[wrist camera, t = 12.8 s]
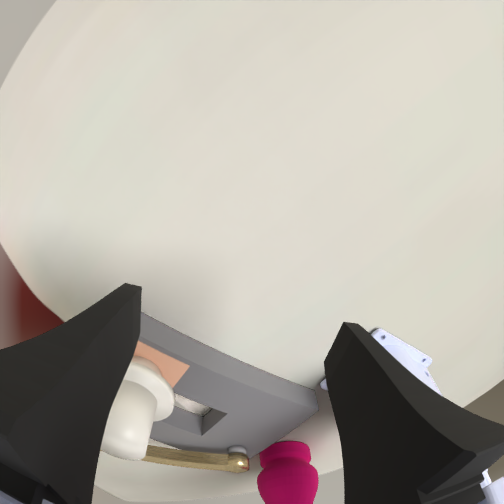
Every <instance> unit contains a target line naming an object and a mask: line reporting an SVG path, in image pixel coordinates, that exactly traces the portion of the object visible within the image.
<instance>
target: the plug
mask: <svg viewBox="0 0 504 504" xmlns="http://www.w3.org/2000/svg"><path fill="white" fill-rule="evenodd" d="M174 403H175V394H174V391H173V389H172V387H171V386H170V384H169V383H168V382H167V381H166V380H165V379H164V378H163V377H162V374H161V371H160V369H159V368H158V367H157V366H156V365H155V364H154V363H153V362H152V361H150V360H148V359H146V358H144V357H141V356H135V355H133V358H132V360H131V363H130V365H129V367H128V369H127V372H126V374H125V376H124V379H123V381H122V383H121V386H120V388H119V390H118V393H117V395H116V397H115V400H114V402H113V404H112V407H111V410H110V413H109V416H108V420H107V424H106V427H105V431H104V435H103V439H102V444H101V448H100V450H102V451H104V452H106V453H108V454H110V455H112V456H115V457H118V458H121V459H125V460H141V459H143V458H144V457H145V455H146V450H147V446H148V442H149V437H150V433H151V429H152V425H153V422H155V421H160V420H163V419H165V418H167V417H168V416H169V415H170V414H171V413H172V411H173V408H174Z"/></svg>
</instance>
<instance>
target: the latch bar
mask: <svg viewBox="0 0 504 504" xmlns="http://www.w3.org/2000/svg"><path fill="white" fill-rule="evenodd" d="M100 451H102V450H100ZM103 452H104V451H103ZM141 460H143V461H148V462H154V463H160V464H166V465H173V466H180V467H189V468H198V469H209V470H223V471H229V472H234V473H241V472H246V471H248V470H249V457H248V456H247V455H246V454H243V453H230V454H217V453H205V452H194V451H185V450H177V449H170V448H163V447H157V446H151V445H148V446H147V450H146V455H145V457H144V458H143V459H141Z"/></svg>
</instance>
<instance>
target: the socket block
mask: <svg viewBox="0 0 504 504" xmlns="http://www.w3.org/2000/svg"><path fill="white" fill-rule="evenodd" d="M134 355H135V356H141V357H144V358H146V359H148V360H150V361H152V362H153V363H154V364H155V365H156V366H157V367H158V368H159V369H160V371H161V374H162V377H163V378H164V379H165V380H166V381H167V382H168V383H169V384H170V386H171V387H172V389H173V391H174V393H176V394H178V395H181V396H183V397H186V398H188V399H190V400H193V401H195V402H198V403H200V404H203V405H206V406H208V407H211V408H213V409H212V410H211V411H209V412H208V413H207V414H206V415H205V416H204V417H202V416H199V415H196V414H194V413H191V412H189V411H186V410H184V409H181V408H179V407H176V406H174V408H173V411H172V413H171V414H170V415H169V416H168V417H167V418H165V419H163V420H160V421H155V422H153V425H152V429H151V433H150V437H149V438H151V439H154V440H156V441H159V442H161V443H164V444H167V445H170V446H172V447H175V448H178V449H181V450H185V451H194V452H205V453H217V454H230V453H243V454H246V455H247V456H248V457H249V459H250V458H252V457H253V456H255V455H257V454H258V453H260V452H261V451H263V450H264V449H266V448H267V447H269V446H270V445H272V444H273V443H275V442H276V441H278V440H279V439H281V438H282V437H284V436H285V435H286V434H288V433H289V432H291V431H292V430H293V429H295V428H296V427H298V426H299V425H300V424H302V423H303V422H304V421H306V420H307V419H308V418H310V417H311V416H312V415H314V414H315V413H316V412H317V411H319V408H318V404H317V399H316V395H315V390H312V389H309V388H306V387H304V386H301V385H298V384H296V383H293V382H291V381H288V380H285V379H283V378H280V377H278V376H275V375H273V374H270V373H268V372H265V371H263V370H261V369H258V368H256V367H254V366H251V365H249V364H247V363H244V362H242V361H240V360H237V359H235V358H233V357H231V356H228V355H226V354H224V353H222V352H220V351H218V350H215V349H213V348H211V347H209V346H207V345H205V344H203V343H201V342H199V341H196V340H194V339H192V338H190V337H188V336H186V335H184V334H182V333H180V332H178V331H176V330H174V329H172V328H170V327H169V326H167V325H165V324H163V323H161V322H159V321H157V320H155V319H153V318H151V317H150V316H148V315H146V314H144V313H142V312H141V328H140V336H139V339H138V342H137V346H136V349H135V352H134Z"/></svg>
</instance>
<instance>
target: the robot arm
mask: <svg viewBox="0 0 504 504" xmlns="http://www.w3.org/2000/svg"><path fill="white" fill-rule="evenodd" d="M141 291H142V287H140V286H136V285H131V284H127V283H125V284H123V285H121V286H120V287H119V288H117V289H116V290H114V291H113V292H111V293H110V294H108V295H107V296H105V297H104V298H103V299H101V300H100V301H98V302H97V303H95V304H94V305H92V306H91V307H89V308H88V309H86V310H85V311H83V312H82V313H80V314H78V315H77V316H75V317H73V318H72V319H70V320H68V321H67V322H65V323H63V324H61V325H60V326H58V327H56V328H54V329H52V330H50V331H48V332H46V333H43V334H42V335H39V336H37V337H35V338H32V339H29V340H27V341H24V342H22V343H19V344H16V345H14V346H11V347H8V348H4V349H1V350H0V504H91V503H92V494H93V487H94V480H95V474H96V468H97V463H98V457H99V453H100V448H101V444H102V439H103V435H104V431H105V427H106V424H107V420H108V416H109V413H110V410H111V407H112V404H113V402H114V400H115V397H116V395H117V393H118V390H119V388H120V386H121V383H122V381H123V379H124V376H125V374H126V372H127V369H128V367H129V365H130V363H131V360H132V358H133V355H134V352H135V349H136V346H137V342H138V339H139V336H140V328H141ZM383 335H384V336H383ZM381 336H382V337H381ZM431 363H432V359H431V357H429V356H427V355H426V354H424V353H422V352H420V351H419V350H417V349H415V348H414V347H412V346H410V345H409V344H407V343H405V342H403V341H402V340H400V339H398V338H397V337H395V336H393V335H392V334H390V333H388V332H386V331H385V330H383V329H381V328H380V329H377V330H375V331H374V332H373V333H372V334H371V335H370V334H369V333H368V332H367V331H366V330H365V329H364V328H363V327H361V326H360V325H359V324H356V323H348V322H343V324H342V326H341V328H340V330H339V332H338V334H337V337H336V339H335V341H334V343H333V345H332V347H331V349H330V351H329V353H328V355H327V357H326V359H325V361H324V367H325V377H326V378H325V379H324V380H323V381H322V382H321V383H320V386H321V388H322V389H324V390H327V391H328V393H329V397H330V401H331V404H332V408H333V412H334V416H335V420H336V424H337V427H338V431H339V436H340V441H341V448H342V457H343V468H344V486H345V487H344V488H345V504H504V477H501V478H500V479H498V480H496V481H494V482H491V480H490V478H489V475H488V473H487V471H488V468H489V467H490V466H491V465H492V464H493V463H495V462H496V461H497V460H498V459H499V458H500V457H501V456H502V455H504V426H503V425H501V424H499V423H496V422H493V421H490V420H487V419H485V418H482V417H480V416H478V415H476V414H473V413H471V412H469V411H467V410H465V409H463V408H461V407H460V406H458V405H456V404H454V403H453V402H451V401H449V400H448V399H446V398H444V397H443V396H442V394H441V392H440V391H439V389H438V387H437V385H436V384H435V382H434V380H433V378H432V377H431V375H430V373H429V371H428V370H427V367H428V366H429V365H430V364H431Z"/></svg>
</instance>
